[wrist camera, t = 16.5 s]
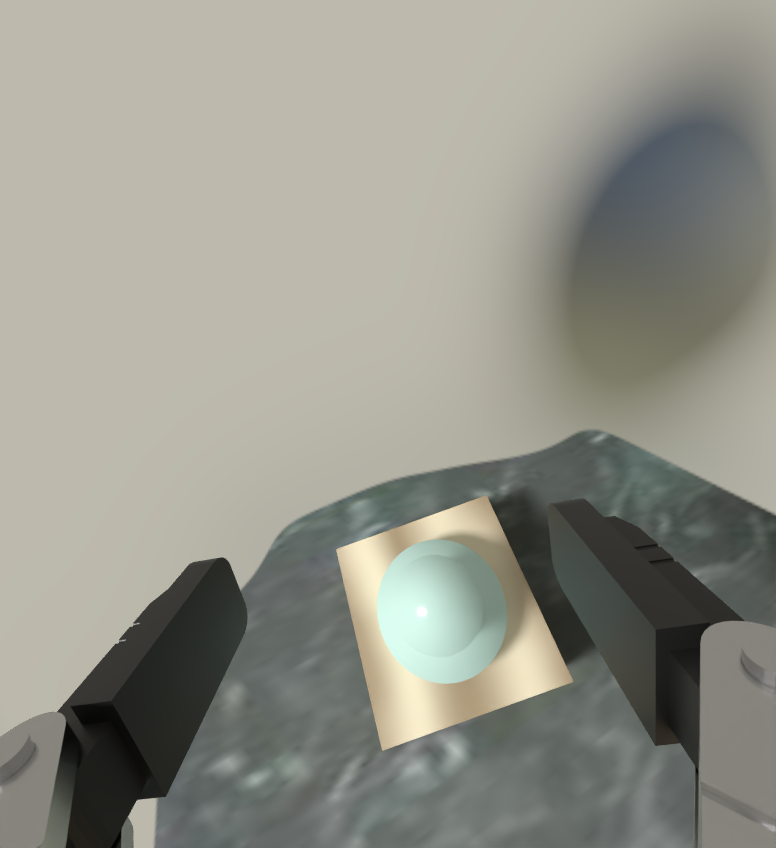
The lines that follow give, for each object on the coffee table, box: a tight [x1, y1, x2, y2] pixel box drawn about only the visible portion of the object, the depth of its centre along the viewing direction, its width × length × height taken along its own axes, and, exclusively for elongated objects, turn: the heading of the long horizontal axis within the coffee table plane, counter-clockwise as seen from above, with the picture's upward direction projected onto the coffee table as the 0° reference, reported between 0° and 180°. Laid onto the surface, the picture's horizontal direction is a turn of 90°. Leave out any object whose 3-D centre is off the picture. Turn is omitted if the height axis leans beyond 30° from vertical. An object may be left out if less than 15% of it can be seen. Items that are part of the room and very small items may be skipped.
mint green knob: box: [377, 539, 507, 684], centre depth 21 cm, size 8×8×8 cm
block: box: [336, 495, 573, 751], centre depth 27 cm, size 12×12×5 cm
